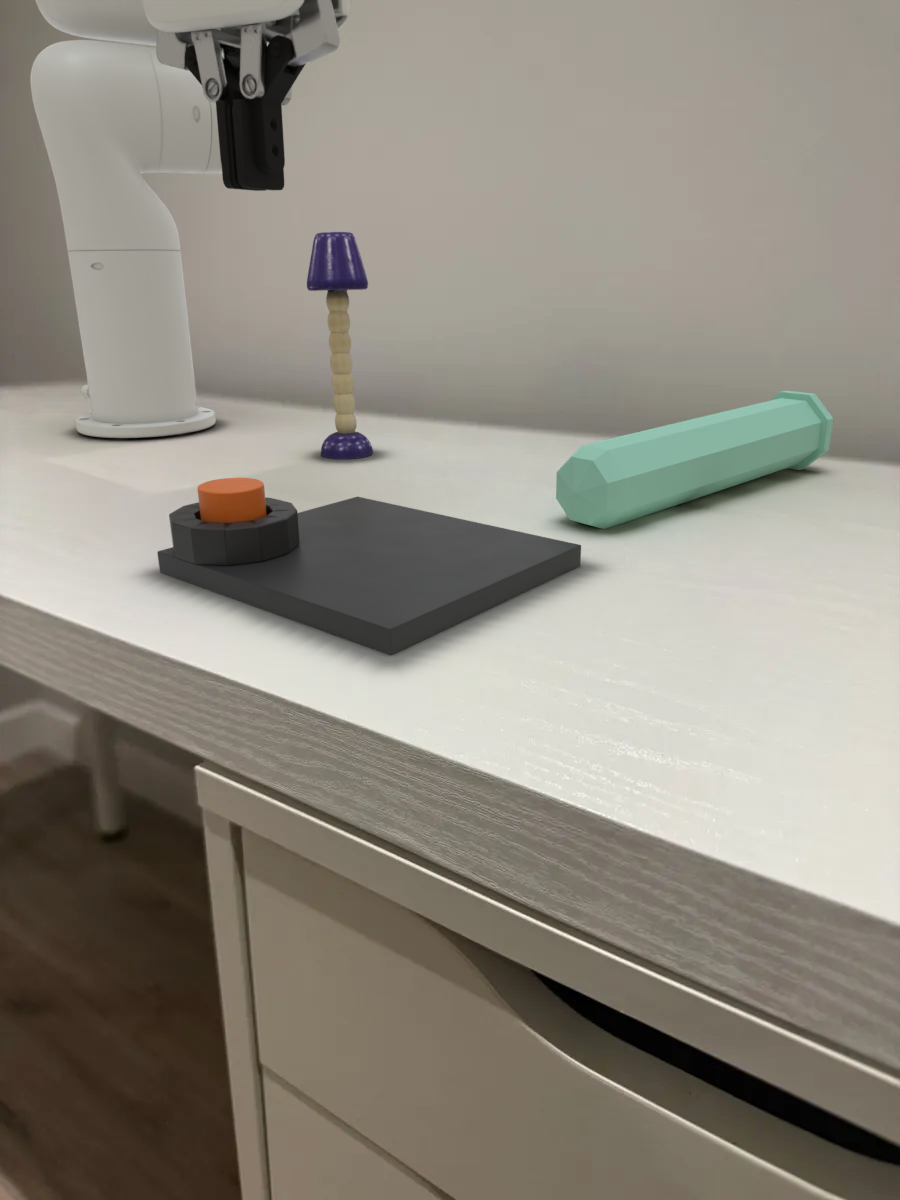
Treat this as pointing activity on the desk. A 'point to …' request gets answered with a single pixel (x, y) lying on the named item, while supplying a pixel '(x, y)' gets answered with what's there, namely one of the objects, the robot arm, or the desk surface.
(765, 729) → the desk surface
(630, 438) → the container
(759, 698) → the desk surface
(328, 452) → the toy lamp
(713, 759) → the desk surface
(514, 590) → the scale
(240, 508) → the button
